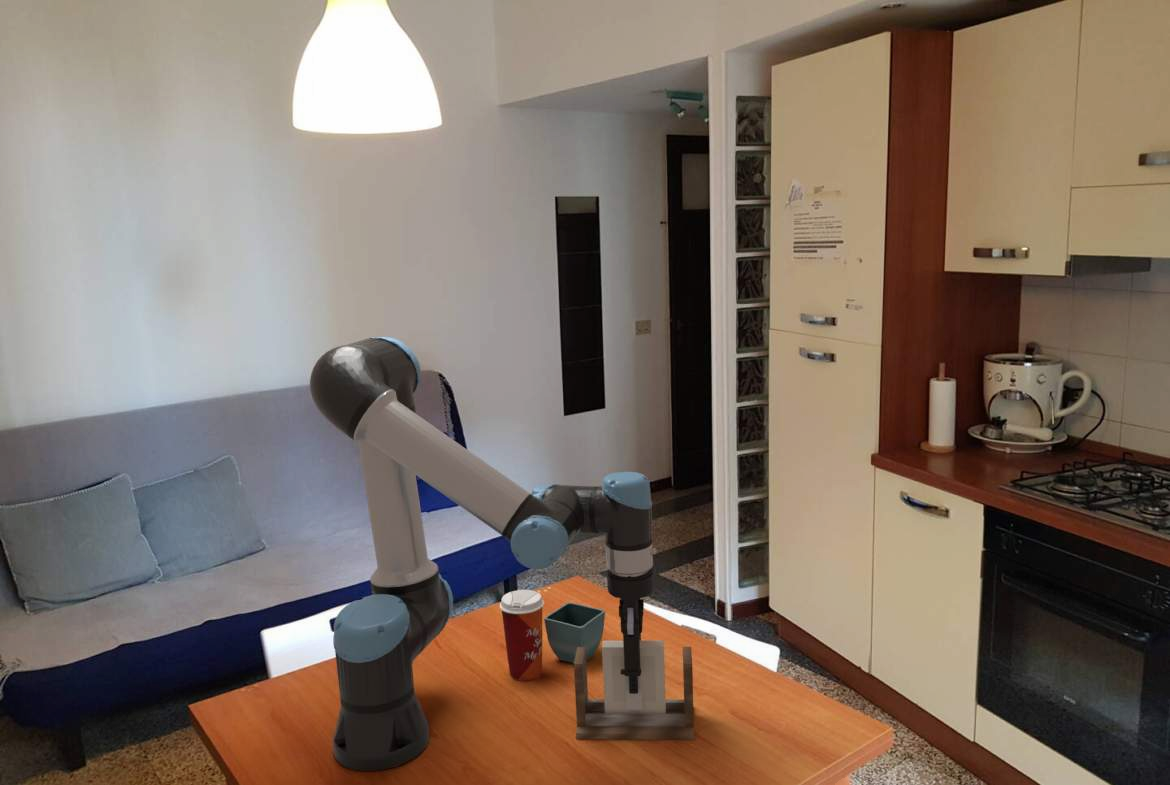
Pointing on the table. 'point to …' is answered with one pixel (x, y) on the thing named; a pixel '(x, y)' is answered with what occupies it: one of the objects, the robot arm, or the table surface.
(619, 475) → the robot arm
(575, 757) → the table surface
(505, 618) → the coffee cup
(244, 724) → the table surface
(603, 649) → the door panel
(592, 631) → the flower pot
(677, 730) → the track
